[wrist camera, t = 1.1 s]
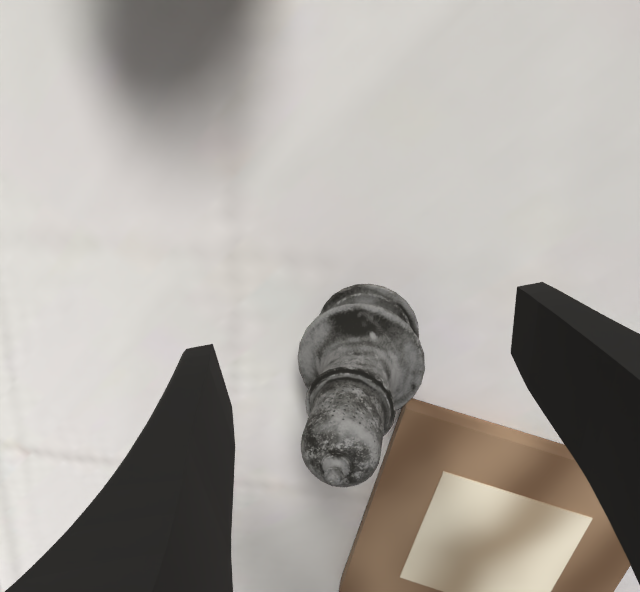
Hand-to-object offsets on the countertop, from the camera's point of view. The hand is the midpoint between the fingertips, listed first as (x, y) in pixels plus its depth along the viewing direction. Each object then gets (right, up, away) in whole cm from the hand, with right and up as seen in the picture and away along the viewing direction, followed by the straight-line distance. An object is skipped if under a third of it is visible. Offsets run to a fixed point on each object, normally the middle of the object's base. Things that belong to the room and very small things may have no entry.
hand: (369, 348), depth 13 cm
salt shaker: (+1, -1, +16) cm, 16 cm away
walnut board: (+9, -12, +19) cm, 24 cm away
